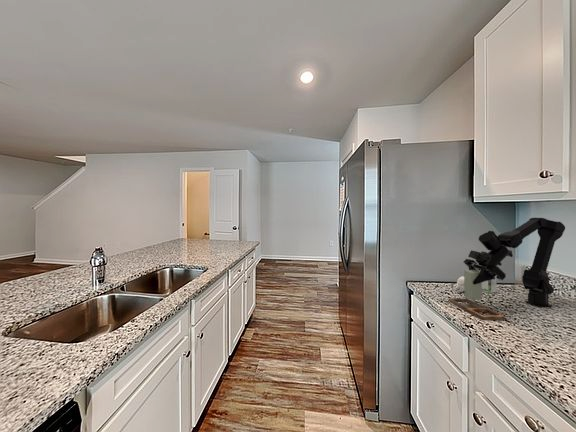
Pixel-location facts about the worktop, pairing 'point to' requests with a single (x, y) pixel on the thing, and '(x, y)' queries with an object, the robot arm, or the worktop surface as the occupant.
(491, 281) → the syrup box
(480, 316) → the copper brown frame
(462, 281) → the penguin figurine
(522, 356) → the worktop surface
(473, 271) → the sage peg
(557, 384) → the worktop surface
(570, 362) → the worktop surface
